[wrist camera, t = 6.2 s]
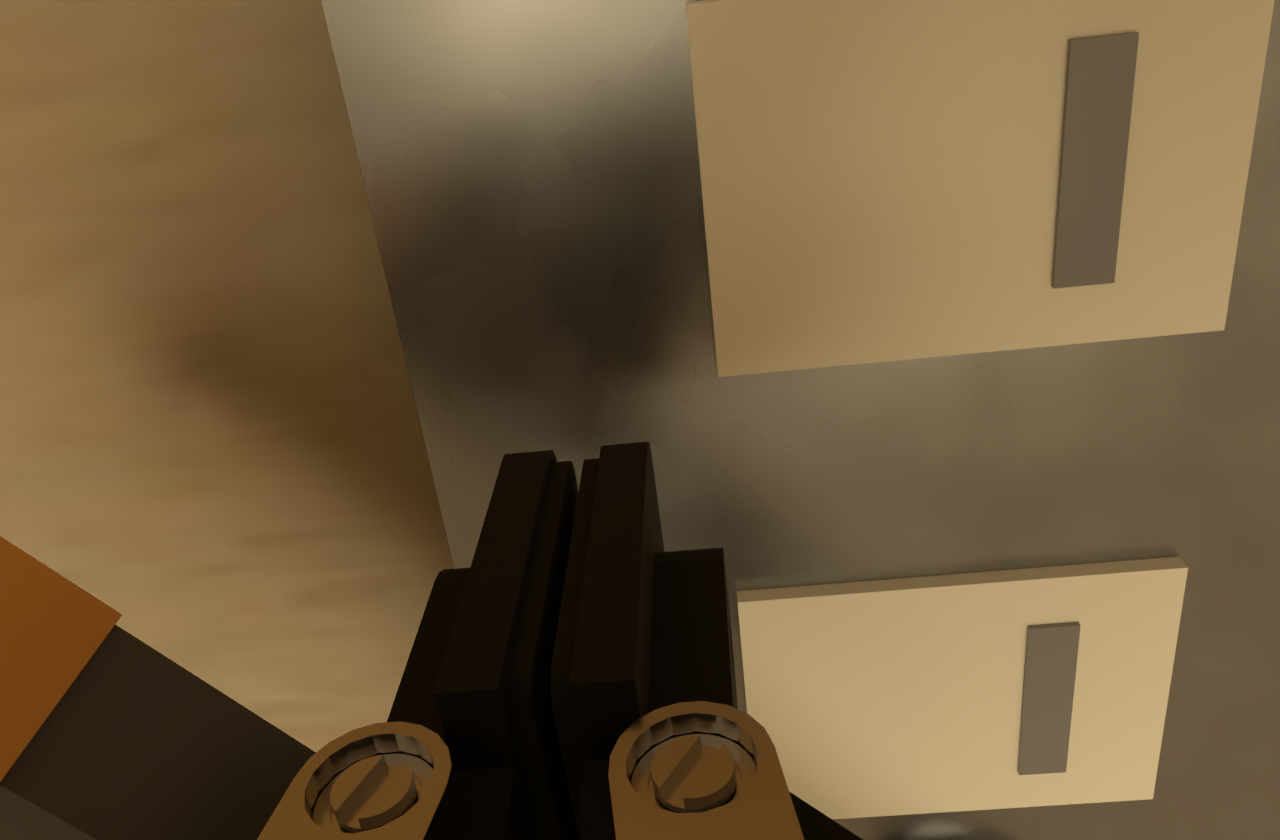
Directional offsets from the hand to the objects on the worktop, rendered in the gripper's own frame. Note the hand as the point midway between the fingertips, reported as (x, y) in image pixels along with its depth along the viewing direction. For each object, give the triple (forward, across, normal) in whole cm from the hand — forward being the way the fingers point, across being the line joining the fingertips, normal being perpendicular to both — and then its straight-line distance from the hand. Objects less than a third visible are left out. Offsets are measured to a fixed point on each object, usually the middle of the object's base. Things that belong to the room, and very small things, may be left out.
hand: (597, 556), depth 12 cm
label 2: (+4, -5, +6) cm, 9 cm away
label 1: (+4, -5, -3) cm, 7 cm away
